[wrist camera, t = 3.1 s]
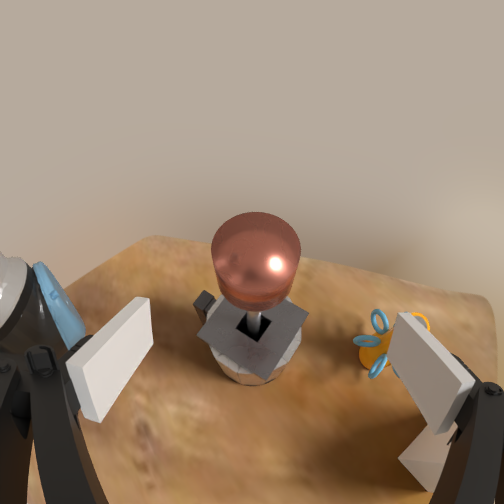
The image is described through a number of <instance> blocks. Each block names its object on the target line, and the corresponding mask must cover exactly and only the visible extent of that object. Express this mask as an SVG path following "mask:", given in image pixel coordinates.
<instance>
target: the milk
mask: <svg viewBox="0 0 504 504" xmlns="http://www.w3.org/2000/svg"><path fill="white" fill-rule="evenodd" d="M457 427H458V426H457V424H456V423H455V421H454V423H453V424H452V426H451V428H450V429H449V431H448V432H446V433H442V434H438V435H435V436H434V434H433V432H432V430H431V429H430V427H429V425H427V426H426V427H425V428H424V429H423V431H422V432H421V433H420V434H419V435H418V436H417V438H416V439H415V440H414V441H413V442H412V443H411V444H410V445H409V446H408V447H407V448H406V450H405V451H404V452H403V453H402V454H401V455H400V456H399V457H398V459H399V461H400V462H401V463H402V464H403V465H404V466H405V467H406V468H407V469H408V471H409V472H410V473H411V474H412V475H413V476H414V477H415V478H416V479H417V480H418V482H419V483H420V484H421V485H422V486H423V487H424V488H425V489H426V490H427V491H428V492H433V493H434V491H435V488H436V486H437V483H438V481H439V478H440V476H441V473H442V470H443V467H444V464H445V461H446V458H447V455H448V452H449V449H450V446H451V442H450V444H449V445H447V443H448V441H449V440H450V438H451V437H452V435H453V434H454V432H455V430H456V429H457Z"/></svg>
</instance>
